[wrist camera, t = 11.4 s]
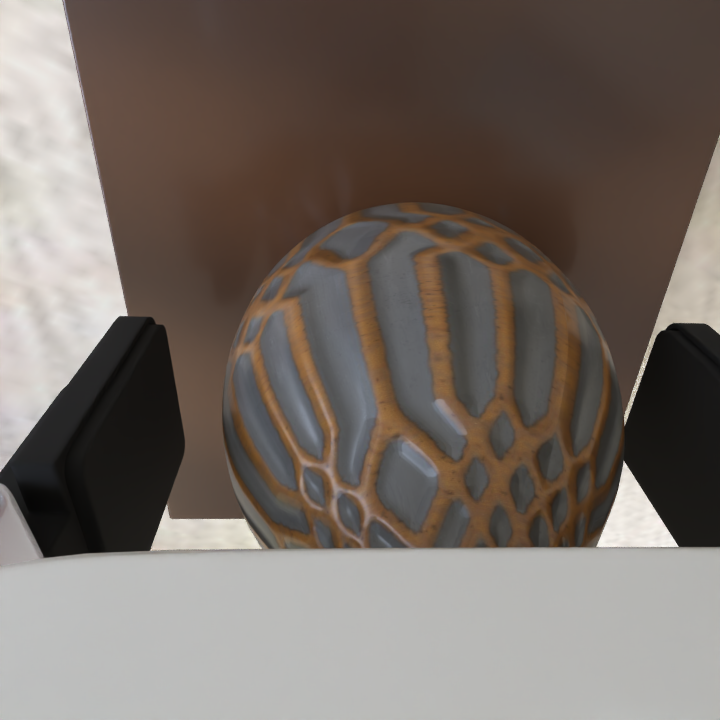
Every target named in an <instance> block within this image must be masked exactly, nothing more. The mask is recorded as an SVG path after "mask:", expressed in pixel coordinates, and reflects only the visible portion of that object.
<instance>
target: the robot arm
mask: <svg viewBox="0 0 720 720" xmlns="http://www.w3.org/2000/svg"><path fill="white" fill-rule="evenodd" d="M184 452H185V436H184V430H183V424H182V418H181V413H180V407H179V401H178V395H177V389H176V384H175V378H174V372H173V366H172V361H171V355H170V349H169V343H168V337H167V332H166V328H165V326H164V325H163V324H156V323H155V320H154V319H153V318H152V317H135V316H119V317H118V318H117V319H116V320H115V322H114V323H113V324H112V326H111V327H110V329H109V330H108V331H107V333H106V334H105V335H104V337H103V338H102V339H101V341H100V342H99V343H98V345H97V346H96V347H95V349H94V350H93V351H92V353H91V354H90V355H89V357H88V358H87V359H86V361H85V362H84V364H83V365H82V366H81V368H80V369H79V370H78V372H77V373H76V374H75V376H74V377H73V378H72V380H71V381H70V382H69V384H68V385H67V386H66V387H65V388H64V389H63V390H62V391H61V392H60V393H59V395H58V396H57V397H56V399H55V400H54V401H53V403H52V404H51V405H50V407H49V408H48V409H47V411H46V412H45V413H44V415H43V416H42V417H41V419H40V420H39V421H38V423H37V424H36V425H35V427H34V428H33V429H32V431H31V432H30V433H29V435H28V436H27V437H26V439H25V440H24V441H23V443H22V444H21V445H20V447H19V448H18V449H17V451H16V452H15V454H14V455H13V456H12V458H11V459H10V460H9V462H8V463H7V464H6V466H5V467H4V468H3V470H2V471H1V472H0V720H720V335H719V334H718V333H717V332H716V331H715V330H713V329H712V328H711V327H710V326H708V325H706V324H696V323H673V324H671V325H669V326H668V327H667V328H666V330H663V331H661V332H660V333H659V334H658V335H657V337H656V339H655V342H654V345H653V348H652V350H651V353H650V356H649V359H648V362H647V365H646V368H645V371H644V373H643V376H642V379H641V382H640V385H639V388H638V391H637V393H636V396H635V399H634V402H633V405H632V408H631V411H630V413H629V416H628V419H627V422H626V425H625V443H624V461H625V463H626V464H627V466H628V468H629V469H630V471H631V472H632V474H633V475H634V477H635V479H636V480H637V482H638V483H639V485H640V486H641V488H642V490H643V491H644V493H645V494H646V496H647V497H648V499H649V501H650V502H651V504H652V505H653V507H654V508H655V510H656V512H657V513H658V515H659V516H660V518H661V519H662V521H663V523H664V524H665V526H666V527H667V529H668V530H669V532H670V534H671V535H672V537H673V538H674V540H675V541H676V543H677V545H678V546H679V547H497V548H332V549H220V550H161V551H150V549H151V546H152V543H153V540H154V538H155V535H156V532H157V529H158V526H159V524H160V521H161V518H162V515H163V512H164V510H165V507H166V504H167V501H168V499H169V496H170V493H171V490H172V487H173V485H174V482H175V479H176V476H177V473H178V471H179V468H180V465H181V462H182V459H183V456H184Z"/></svg>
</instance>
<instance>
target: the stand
mask: <svg viewBox="0 0 720 720" xmlns="http://www.w3.org/2000/svg"><path fill="white" fill-rule="evenodd" d="M63 5H64V10H65V15H66V20H67V25H68V29H69V34H70V39H71V44H72V49H73V53H74V58H75V63H76V68H77V73H78V77H79V82H80V87H81V92H82V97H83V102H84V106H85V111H86V116H87V121H88V126H89V130H90V135H91V140H92V145H93V150H94V154H95V159H96V164H97V169H98V174H99V179H100V183H101V188H102V193H103V198H104V203H105V207H106V212H107V217H108V222H109V227H110V231H111V236H112V241H113V246H114V251H115V255H116V260H117V265H118V270H119V275H120V280H121V284H122V289H123V294H124V299H125V304H126V308H127V313H128V316H135V317H152V318H153V319H154V320H155V323H156V324H163V325H164V326H165V328H166V332H167V337H168V343H169V349H170V355H171V361H172V366H173V372H174V378H175V384H176V389H177V395H178V401H179V407H180V413H181V418H182V424H183V430H184V436H185V452H184V456H183V459H182V462H181V465H180V468H179V471H178V473H177V476H176V479H175V482H174V485H173V487H172V490H171V493H170V496H169V499H168V501H167V506H168V510H169V515H170V518H171V519H245V518H244V515H243V513H242V510H241V508H240V506H239V503H238V501H237V498H236V496H235V492H234V489H233V485H232V482H231V478H230V474H229V470H228V465H227V460H226V454H225V448H224V440H223V427H222V395H223V384H224V376H225V371H226V367H227V362H228V358H229V355H230V351H231V347H232V344H233V341H234V338H235V335H236V333H237V330H238V328H239V326H240V323H241V321H242V318H243V316H244V314H245V312H246V310H247V308H248V306H249V304H250V302H251V300H252V299H253V297H254V295H255V293H256V292H257V290H258V288H259V287H260V285H261V284H262V282H263V281H264V279H265V278H266V277H267V275H268V274H269V273H270V271H271V270H272V269H273V268H274V267H275V266H276V264H277V263H278V262H279V261H280V260H281V259H282V258H283V257H284V256H285V255H286V254H287V253H289V252H290V251H291V250H292V249H293V248H294V247H295V246H296V245H298V244H299V243H300V242H301V241H303V240H304V239H305V238H307V237H308V236H309V235H311V234H312V233H314V232H315V231H317V230H318V229H320V228H321V227H323V226H325V225H327V224H329V223H331V222H333V221H335V220H337V219H339V218H341V217H344V216H346V215H349V214H351V213H354V212H357V211H360V210H364V209H367V208H371V207H376V206H381V205H386V204H395V203H410V202H420V203H434V204H441V205H447V206H452V207H456V208H460V209H464V210H467V211H470V212H473V213H477V214H480V215H482V216H485V217H487V218H490V219H492V220H494V221H496V222H498V223H500V224H502V225H504V226H506V227H508V228H510V229H511V230H513V231H514V232H516V233H517V234H519V235H520V236H522V237H523V238H525V239H526V240H527V241H528V242H530V243H531V244H532V245H534V246H535V247H536V248H538V249H539V250H540V251H541V252H542V253H543V254H544V255H545V256H547V257H548V258H549V259H550V260H551V261H552V262H553V263H554V264H555V265H556V266H557V267H558V268H559V269H560V270H561V271H562V273H563V274H564V275H565V276H566V277H567V278H568V279H569V280H570V282H571V283H572V284H573V286H574V287H575V288H576V290H577V291H578V292H579V294H580V295H581V296H582V298H583V299H584V300H585V302H586V303H587V305H588V306H589V308H590V310H591V311H592V313H593V315H594V317H595V319H596V321H597V323H598V325H599V327H600V329H601V331H602V333H603V335H604V338H605V340H606V342H607V345H608V348H609V351H610V354H611V357H612V360H613V363H614V366H615V370H616V374H617V379H618V383H619V388H620V393H621V398H622V406H623V415H624V414H625V411H626V408H627V405H628V402H629V399H630V396H631V393H632V390H633V388H634V385H635V382H636V379H637V376H638V373H639V370H640V367H641V364H642V361H643V358H644V355H645V352H646V349H647V346H648V343H649V341H650V338H651V335H652V332H653V329H654V326H655V323H656V320H657V317H658V314H659V311H660V308H661V305H662V302H663V299H664V296H665V294H666V291H667V288H668V285H669V282H670V279H671V276H672V273H673V270H674V267H675V264H676V261H677V258H678V255H679V252H680V249H681V246H682V244H683V241H684V238H685V235H686V232H687V229H688V226H689V223H690V220H691V217H692V214H693V211H694V208H695V205H696V202H697V199H698V197H699V194H700V191H701V188H702V185H703V182H704V179H705V176H706V173H707V170H708V167H709V164H710V161H711V158H712V155H713V152H714V149H715V147H716V144H717V141H718V138H719V135H720V0H63Z"/></svg>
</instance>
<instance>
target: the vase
mask: <svg viewBox="0 0 720 720" xmlns="http://www.w3.org/2000/svg"><path fill="white" fill-rule="evenodd" d="M222 427H223V440H224V448H225V454H226V460H227V465H228V470H229V474H230V478H231V482H232V485H233V489H234V492H235V496H236V498H237V501H238V503H239V506H240V508H241V510H242V513H243V515H244V518H245V520H246V522H247V524H248V526H249V528H250V530H251V531H252V533H253V535H254V536H255V538H256V540H257V541H258V543H259V544H260V546H261V547H262V549H332V548H497V547H596V546H597V544H598V541H599V539H600V537H601V534H602V532H603V529H604V527H605V524H606V522H607V520H608V517H609V515H610V512H611V509H612V506H613V504H614V501H615V498H616V494H617V491H618V487H619V482H620V477H621V472H622V467H623V460H624V443H625V425H624V415H623V406H622V398H621V393H620V388H619V383H618V379H617V374H616V370H615V366H614V363H613V360H612V357H611V354H610V351H609V348H608V345H607V342H606V340H605V338H604V335H603V333H602V331H601V329H600V327H599V325H598V323H597V321H596V319H595V317H594V315H593V313H592V311H591V310H590V308H589V306H588V305H587V303H586V302H585V300H584V299H583V298H582V296H581V295H580V294H579V292H578V291H577V290H576V288H575V287H574V286H573V284H572V283H571V282H570V280H569V279H568V278H567V277H566V276H565V275H564V274H563V273H562V271H561V270H560V269H559V268H558V267H557V266H556V265H555V264H554V263H553V262H552V261H551V260H550V259H549V258H548V257H547V256H545V255H544V254H543V253H542V252H541V251H540V250H539V249H538V248H536V247H535V246H534V245H532V244H531V243H530V242H528V241H527V240H526V239H525V238H523V237H522V236H520V235H519V234H517V233H516V232H514V231H513V230H511V229H510V228H508V227H506V226H504V225H502V224H500V223H498V222H496V221H494V220H492V219H490V218H487V217H485V216H482V215H480V214H477V213H473V212H470V211H467V210H464V209H460V208H456V207H452V206H447V205H441V204H434V203H420V202H410V203H395V204H386V205H381V206H376V207H371V208H367V209H364V210H360V211H357V212H354V213H351V214H349V215H346V216H344V217H341V218H339V219H337V220H335V221H333V222H331V223H329V224H327V225H325V226H323V227H321V228H320V229H318V230H317V231H315V232H314V233H312V234H311V235H309V236H308V237H307V238H305V239H304V240H303V241H301V242H300V243H299V244H298V245H296V246H295V247H294V248H293V249H292V250H291V251H290V252H289V253H287V254H286V255H285V256H284V257H283V258H282V259H281V260H280V261H279V262H278V263H277V264H276V266H275V267H274V268H273V269H272V270H271V271H270V273H269V274H268V275H267V277H266V278H265V279H264V281H263V282H262V284H261V285H260V287H259V288H258V290H257V292H256V293H255V295H254V297H253V299H252V300H251V302H250V304H249V306H248V308H247V310H246V312H245V314H244V316H243V318H242V321H241V323H240V326H239V328H238V330H237V333H236V335H235V338H234V341H233V344H232V347H231V351H230V355H229V358H228V362H227V367H226V371H225V376H224V384H223V395H222Z"/></svg>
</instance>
